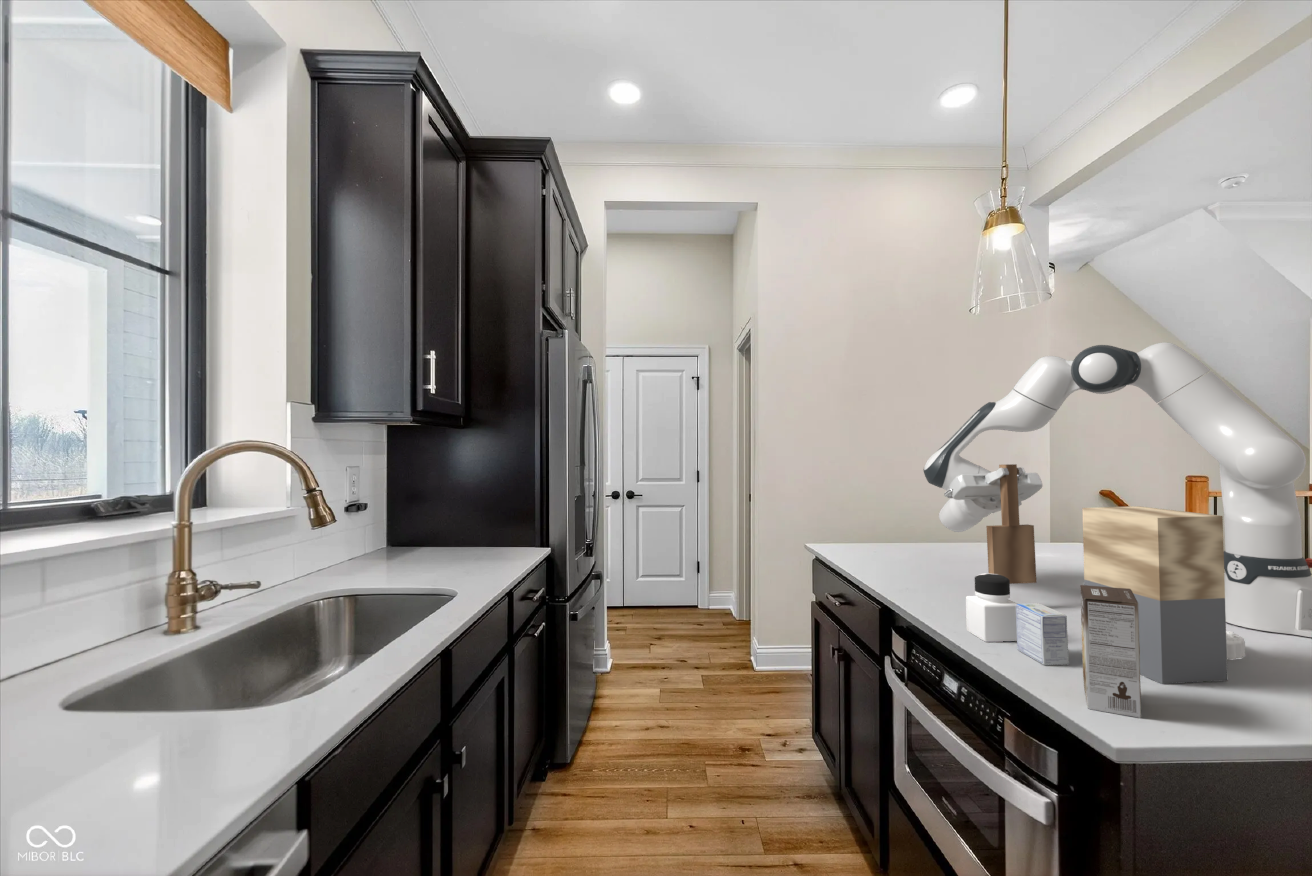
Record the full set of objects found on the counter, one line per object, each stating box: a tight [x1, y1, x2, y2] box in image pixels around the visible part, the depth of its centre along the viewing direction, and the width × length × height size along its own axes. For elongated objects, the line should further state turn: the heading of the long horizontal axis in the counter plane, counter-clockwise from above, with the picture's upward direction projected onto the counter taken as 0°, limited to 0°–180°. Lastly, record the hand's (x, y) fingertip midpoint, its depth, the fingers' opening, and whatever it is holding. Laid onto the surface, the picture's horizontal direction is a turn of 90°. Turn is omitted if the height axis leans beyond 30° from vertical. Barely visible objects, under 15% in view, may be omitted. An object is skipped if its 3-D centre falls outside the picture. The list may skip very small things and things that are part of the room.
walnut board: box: [985, 463, 1037, 585], centre depth 136 cm, size 10×27×2 cm
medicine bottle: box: [965, 573, 1019, 643], centre depth 117 cm, size 7×7×12 cm
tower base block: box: [1083, 578, 1228, 685], centre depth 101 cm, size 11×15×13 cm
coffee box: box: [1079, 584, 1142, 719], centre depth 87 cm, size 9×6×16 cm
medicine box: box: [1016, 602, 1070, 666], centre depth 105 cm, size 8×4×9 cm, turn 179°
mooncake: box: [1226, 629, 1246, 661], centre depth 109 cm, size 12×12×4 cm
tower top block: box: [1081, 505, 1225, 601], centre depth 101 cm, size 11×15×13 cm
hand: (1013, 470), depth 135 cm, fingers closed on walnut board, 2 cm apart
